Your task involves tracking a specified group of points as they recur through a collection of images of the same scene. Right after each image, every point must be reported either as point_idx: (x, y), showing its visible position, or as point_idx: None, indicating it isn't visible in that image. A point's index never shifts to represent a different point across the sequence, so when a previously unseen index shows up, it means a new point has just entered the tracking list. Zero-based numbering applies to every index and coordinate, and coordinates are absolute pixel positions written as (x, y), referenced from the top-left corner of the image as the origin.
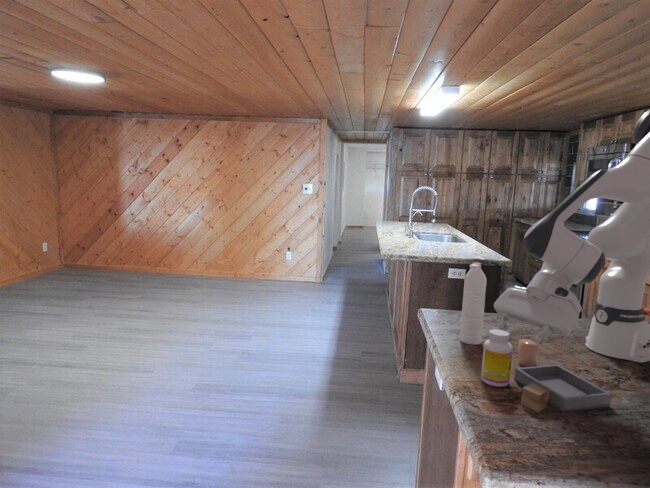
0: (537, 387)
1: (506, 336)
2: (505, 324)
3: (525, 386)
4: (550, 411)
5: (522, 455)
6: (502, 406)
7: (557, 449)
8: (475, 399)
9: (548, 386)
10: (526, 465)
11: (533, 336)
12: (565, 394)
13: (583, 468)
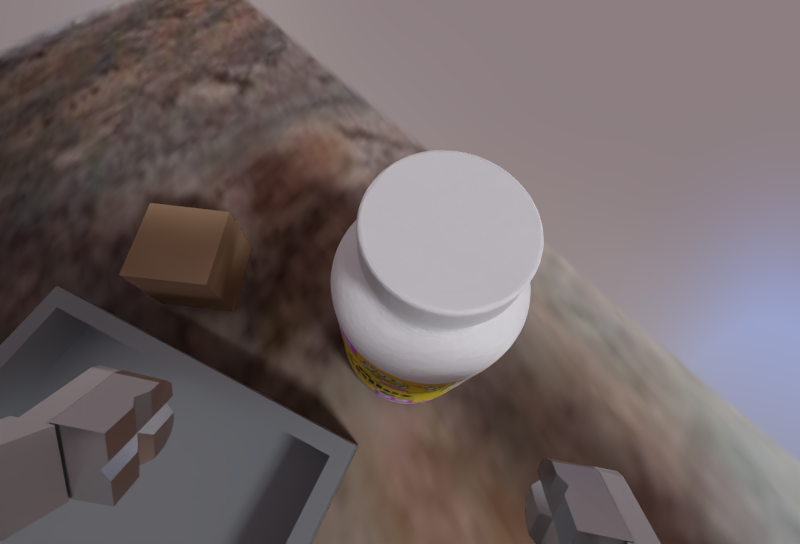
0: (173, 262)
1: (362, 201)
2: (568, 520)
3: (221, 230)
4: None
5: (169, 36)
6: (293, 187)
7: (96, 100)
8: (378, 166)
9: (187, 489)
10: (153, 16)
11: (125, 390)
12: None
13: (29, 75)
